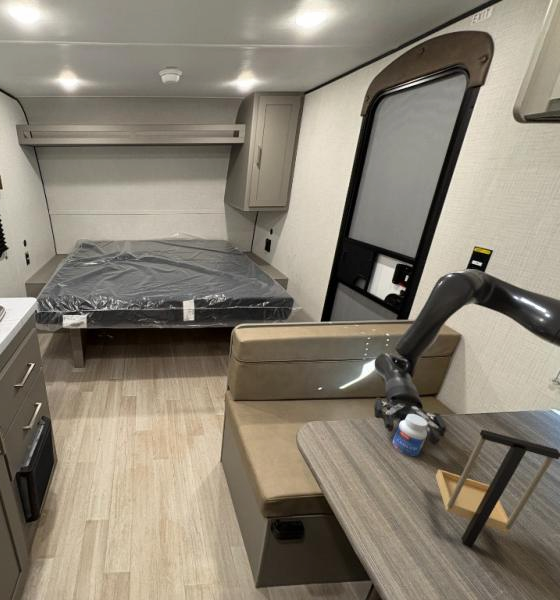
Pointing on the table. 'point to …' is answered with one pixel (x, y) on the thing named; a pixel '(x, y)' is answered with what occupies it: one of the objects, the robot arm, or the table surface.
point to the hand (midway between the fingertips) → (412, 435)
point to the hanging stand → (490, 487)
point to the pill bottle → (411, 435)
